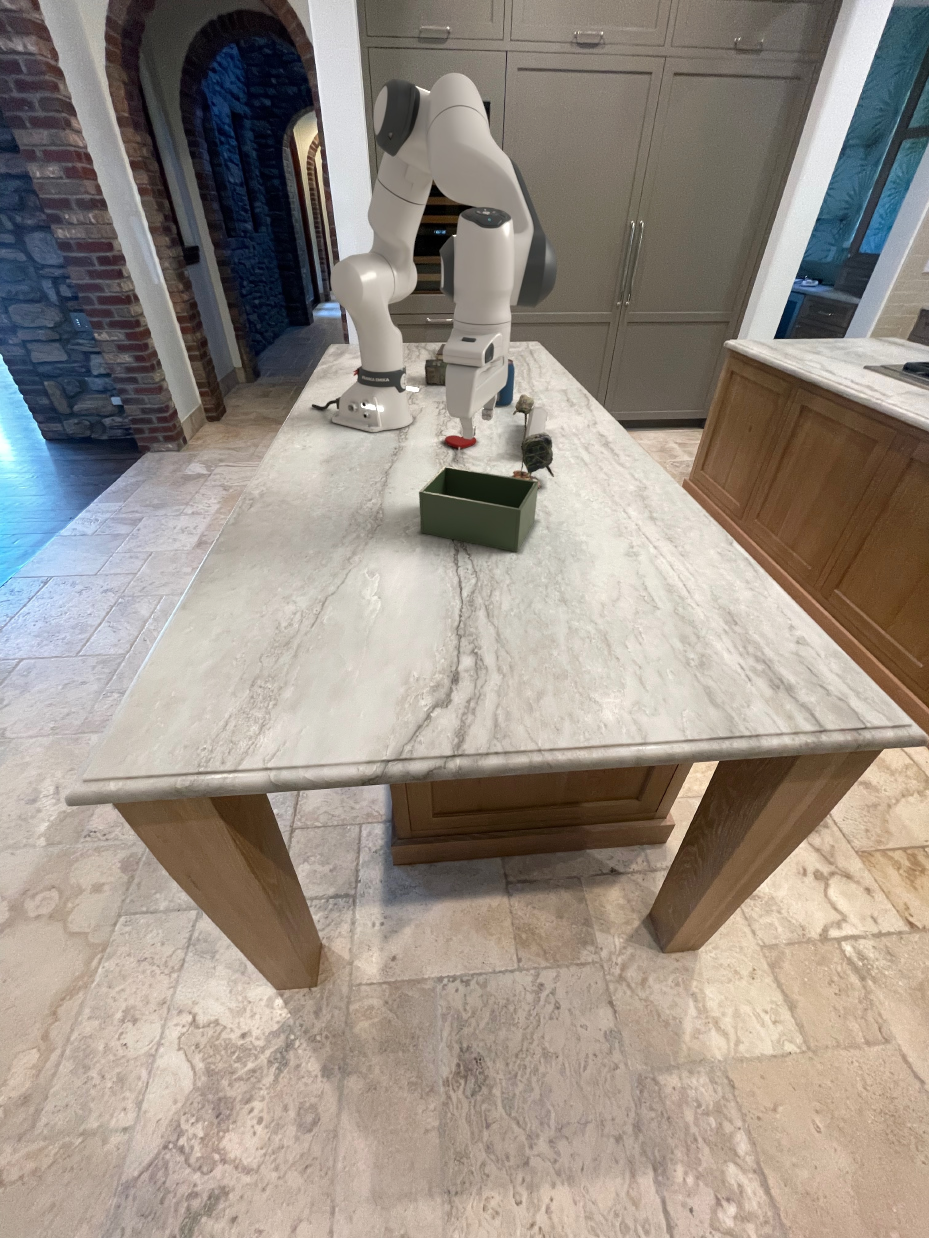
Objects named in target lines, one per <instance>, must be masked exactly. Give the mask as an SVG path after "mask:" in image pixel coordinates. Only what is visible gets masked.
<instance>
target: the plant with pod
mask: <svg viewBox="0 0 929 1238" xmlns="http://www.w3.org/2000/svg"><path fill="white" fill-rule="evenodd" d="M534 402H535V400H534V399H533V398H532V397H531V396H528V395H527V394H520V396H519V399H518V401H517V402H516V404H515V406H514V408H515V410H514V411H513V413H512V415H513V416H515V415H516V414H517V413H518V414H523V415H524V431H523V432H524V434H523V439H522V441H521V444H520V450H521V455H522V458H521V468H520V470H513V471H512V475H509V476H508V477H514V478H520V479H526V480H532V481H538V489H540V488H542V485H541V482H540V480H539V478H538V477H536V476H534V475H532V474H533V473H535V472H537V471H539V470H544V469H545V468H546V470H547V471H548V473H549V474H550V476H551V477H553V478H554V477H555V474H554V473H553V471H552V469H551V467H550V465H552V463H553V461H554V458H553V457H554V452H553V439H552V436H550V435H549V434H548V433H546V432H545V431H544V432H543V433H538V434H535V435H534V434H533V435H530V436H528V437H527V438H526V429H527V422H528V415H529V413H530V411H531V409H532V408H533V407H534ZM524 466H525V469H526V471H523V468H524Z"/></svg>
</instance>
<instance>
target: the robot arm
mask: <svg viewBox="0 0 929 1238" xmlns="http://www.w3.org/2000/svg"><path fill="white" fill-rule="evenodd" d="M484 105H485V104H484V102H483V99H482V96H481V94H480V92H479V91H478V88H477V86H476V84H474V81H472V80H471V79H470V78H469V77H468V76H466V75H465V74H462V73H459V72H450V73H446V74H444V75H442V76H441V77H440V78H438V79H437V80H436V82H435V83H434V84H433V86H432V87H431V89H430V91H428V90H426V89H424V88H422V87H419V86H416V84H415V83H414V82H412V81H408V80H406V79H400V78H391V79H389V80H388V81H386V82H385V83H384V84H383V85H382V87H381V89H380V91H379V94H378V95H377V97H376V100H375V104H374V108H373V135H374V138H375V142H376V144H377V146H378V147H379V148H380V149H381V150H383V151H384V152H383V155H382V158H381V162H380V165H379V168H378V171H377V175H376V179H375V183H374V187H373V191H372V195H371V199H370V201H369V206H368V210H367V220H368V224H369V226H370V228H371V229H372V231H373V240H372V246H371V248H370V250H369V251H368V252H364V253H363V252H362V253H357V254H351V255H348V256H347V257H345V258H343V259H341V260H340V261H337V263H335V265H334V266H333V267H332V270H331V272H330V289H331V292H332V294H333V296H334V298H335V300H336V302H337V303H338V304H339V305H340V306H341V307H342V308H344V309H345V311H346V312H347V313H348V315H349V317H350V319H351V322H352V323H353V325H354V326H353V327H354V328H355V331H356V332H355V333H356V336H357V342H358V347H359V348H358V349H359V356H360V364H361V365H360V366H358V367H357V368H356V369H355V370H353V371H352V372H353V376H354V377H355V376H357V378H356V381H355V382H354V383H353V384H352V385H350V386H349V387H348V389H347V390H345V391H344V392H343V393H342V394H341V395H340V396H339V397H337V398H335V399H331V400H329V401H328V402H326V404H325V405H323V406H322V405H319V404H318V405H317V404H315V403H312V404H311V408H313V409H316V410H320V411H325V410H328V408H329V407H330V406H331V405H336V410H337V411H336V412H335V413H334V414H332V417H331V422H332V423H333V424H338V425H340V426H345V427H349V428H354V429H357V430H360V431H364V432H369V433H377V432H382V431H388V430H389V431H390V430H397V429H401V428H405V427H407V426H409V425H411V424H412V423H413V422H414V417H413V414H412V412H411V408H410V404H409V403H410V402H409V399H408V398H409V397H408V392H407V391H411V392H416V393H417V392H419V388H418V387H414V386H408V378H407V368H406V365H405V359H404V343H403V334H402V332H401V330H400V329H399V328H398V327H397V326H396V325H394V323H393V321H392V318H391V315H390V312H389V311H390V310H389V305H391V304H395V303H399V302H401V301H403V300H405V299H406V298H407V297H408V296H409V295H411V294H412V293H413V292H414V291H415V289H416V286H417V283H418V271H417V267H416V264H415V262H414V250H415V243H416V242H415V241H416V237H417V234H418V231H419V227H420V225H421V221H422V218H423V214H424V212H425V209H426V205H427V203H428V199H429V196H430V193H431V189H432V184H433V181H434V183H435V185H436V187H437V188H438V190H439V191H440V192H441V193H442V194H443V195H444V196H445V197H446V198H448V199H449V200H451V201H454V202H455V203H458V204H461V205H465V206H471V208H468V209H465V210H464V211H462V212H461V213H459V216H458V219H457V225H456V226H457V227H456V234H454V235H453V234H452V235H451V236H450V237H449V238H448V239H447V240H446V242H445V243H444V244H443V245H442V246H441V248H440V249H439V257H440V281H439V290H440V292H441V293H442V294H443V295H444V296H445V297H446V298H447V299H448V300H449V301H450V302H452V303H455V308H454V312H453V328H452V329H451V333H450V336H449V337H448V340H447V341H446V343H444V344H445V346H444V348H443V361H444V362H446V363H448V365H447V368H446V376H445V382H446V384H445V403H446V410H447V413H448V415H449V417H451V418H455V419H459V422H460V425H461V428H462V434H461V435H462V436H463V438H464V439H472V438H473V437H475V436H476V427H477V426H475V423H474V422H475V421H474V420H475V416H476V413H478V411H480V410H481V420H483V421H491V420H492V419H493V418H494V415H495V407H496V406H495V403H496V399H497V393H498V392H499V391H500V390H501V389H502V388H503V387H504V386H505V385H506V382H507V376H508V359H509V353H510V347H511V331H512V313H511V312H512V311H511V306H516V307H520V308H521V307H522V308H532V309H535V308H537V306H539V305H540V304H541V303H542V302H543V301H544V300H546V299H547V298H548V297H549V295H550V294H551V293H552V291H553V290H554V287H555V285H556V280H557V269H558V265H557V254H556V250H555V248H554V245H553V244H552V243H553V242H552V241H551V240H550V238H549V237H548V235H547V233H546V232H545V230H544V229H543V227H542V224H541V221H540V218H539V217H538V213H537V211H536V208H535V204H534V202H533V200H532V197H531V194H530V192H529V189H528V187H527V184H526V182H525V179H524V177H523V175H522V172H521V170H520V168H519V166H518V164H517V162H516V161H515V160H513V159H512V158H511V157H510V156H509V155H507V154H506V153H505V152H504V151H503V150H502V149H501V147H499V145H498V144H497V142H496V141H495V139H494V138H493V137H492V134H491V130H490V124H489V123H490V122H489V119H488V114H487V110H486V107H485V106H484ZM462 436H461V437H462Z"/></svg>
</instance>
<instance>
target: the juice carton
mask: <svg viewBox="0 0 929 1238" xmlns="http://www.w3.org/2000/svg"><path fill="white" fill-rule="evenodd" d="M447 365H448V363H446V362H444V361H443V360H437V359H434V358H433V359H429V358H428V359H425V364H424V372H425V374H424V375H425V382H426V384H427V385H428V384H433V383H435V384H437V385H444V386H446V382H445V376H446V368H447Z"/></svg>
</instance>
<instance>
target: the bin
mask: <svg viewBox="0 0 929 1238" xmlns="http://www.w3.org/2000/svg"><path fill="white" fill-rule="evenodd" d="M538 489H539V488H538V481H532V480H526V479H520V478H514V477H509V476H507V475H501V474H495V473H490V472H489V473H488V472H483V471H477V470H470V469H465V468H459V467H452V466H447V465H444V466H443V467H442V468H441V469H440V470H439V471H438V472H437V473H436V474H435V475H434V476H433V477H432V478H431V479H430V480H429V481H428V482H427V483H426V484H425V485H424V486H423V487H422V488H421V489H420V490H419V491H418V500H419V501H418V502H419V519H420V520H419V522H420V533H421V534H426V535H430V536H434V537H435V536H436V537H439V538H446V539H451V540H455V541H460V542H465V543H468V544H469V543H470V544H475V545H480V546H483V547H484V546H485V547H489V548H490V547H491V548H495V549H499V550H505V551H508V552H514V553H518V551H519V550H520V548H521V546H523V545H522V544H523V543H524V541H525V539H526V537H527V536H528V533H529V532H530V530H531V528H532V527H533V525H534V523H535V518H536V509H537V499H538Z"/></svg>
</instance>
